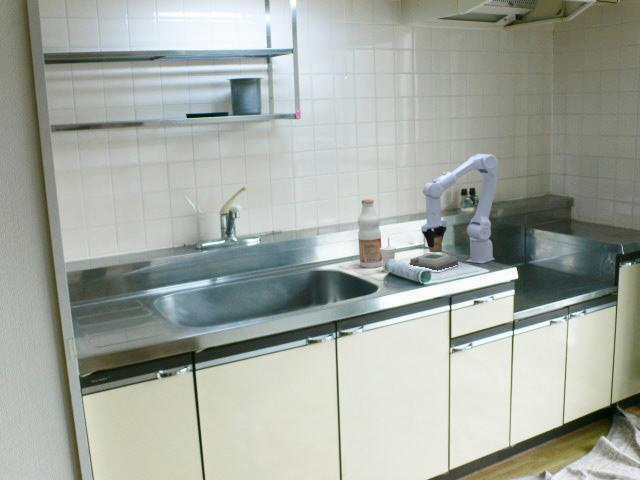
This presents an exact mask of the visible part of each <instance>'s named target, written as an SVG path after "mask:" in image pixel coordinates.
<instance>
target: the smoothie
mask: <svg viewBox="0 0 640 480" xmlns="http://www.w3.org/2000/svg"><path fill="white" fill-rule="evenodd" d="M396 249H397V248H396V247H395V246H390V236H388V237H387V246H381V248H380V251H381V255H382V265H383V267H384V264H385V262H386V261H387V260H389V259H394V260H395V258H396V257H395V256H396ZM383 271H384V272H385V273H388V272H387V271H385V269H384V268H383Z"/></svg>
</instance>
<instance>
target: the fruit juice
mask: <svg viewBox="0 0 640 480" xmlns="http://www.w3.org/2000/svg"><path fill="white" fill-rule="evenodd" d="M361 205H362V208H361V213H360V215H359V217H358V219H357V226H358V228H359V230H358V235H357V236H358V238H357V239H358V251H359V252H358V253H359V263H360V264H359V265H360V266H359V267H360V268H363V267H364V268H365V269H374V268H375V269H376V268H380V267H382V265H383V261H382V255H381V251H380V248H381V247H382V235H381V230H380V227H379V226H380V221H381V220H380V217H379V216H378V214H377V213H376V211H375V208H374V199H363V200H361Z"/></svg>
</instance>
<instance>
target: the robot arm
mask: <svg viewBox="0 0 640 480" xmlns="http://www.w3.org/2000/svg"><path fill="white" fill-rule="evenodd" d="M498 166H499V160H498V158H496V156H495V155H494V154H492V153H491V154H490V153H489V154H488V153H486V154H485V153H475V154H474V155H473V156H470V157H469V158H468V159H467V160H466V161H465V162H463V163H462V164H461V165H459V166H458V167H456V168H455V169H454V170H453V171H446V172H445V171H444V172H442V175H440V176H439V177H437V178H434V179H433V180H432V182H428V183H426V184H425V185H424V186H423V189H422V193H423V195H424V196H425V209H426V223H425V224H423V225H421V229H420V231H421V233H422V234H423V236H424V238H425V241H426V244H427V246H428V247H427V248H429V247H431V248H433V247H434V237H435V235H440V236H442V241H443V239H444V235H445V233H446V231H447V225H448V224H447V220H442V210H441V209H442V208H441V207H442V205H441V196H442V195H443V193H444V192H445V191H447V190H448V189H450V188H451V187H453V186H454V185H455V184H456V183H457V180H458V179H459V178H461V177H462V176H464V175H466V174H467V173H469V172H472V170H476V171H478V172H479V173H480V174H481V176H482V177H483V179H484V180H483V183H482V187H481V191H480V193H479V194H480V195H479V199H478V203H477V207H476V211H475V215H474V216H473V217H472V218H471V219H470V222H469V224H468V225H467V227H466V234H467V236H468V237H469V252H470V253H469V255H470V256H469V257H470V258H469V259H467V260H465V261H466V262H467V263H473V264H474V263H476V264H486V263H488V262H491V261H494V260H495V258H494V257H493V256H494V255H493V253H494V251H493V242H492V240H490V237H491V235H492V229H491V227H492V223H491V220H490V219H489V217H490V213H491V210H492V205H493V201H494V199H495V194H496V190H497V187H498V183H499V177H500V174H499V167H498Z"/></svg>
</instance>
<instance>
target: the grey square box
mask: <svg viewBox="0 0 640 480" xmlns="http://www.w3.org/2000/svg"><path fill="white" fill-rule="evenodd" d="M409 261H410V262H409V263H408V265H409V264H410V265H413V266H419V267H425V268H429V269H432V270H437V271H438V270H442V269H445V268H449V267H453V266H455V265H458V266H459V259H455V258H454V259H453V258H450V256H449V254H448V255H446V254H437V253H433V252H430V253H425V254H422V255H420V256H417V257H413V258H410V259H409ZM453 268H454V267H453Z"/></svg>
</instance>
